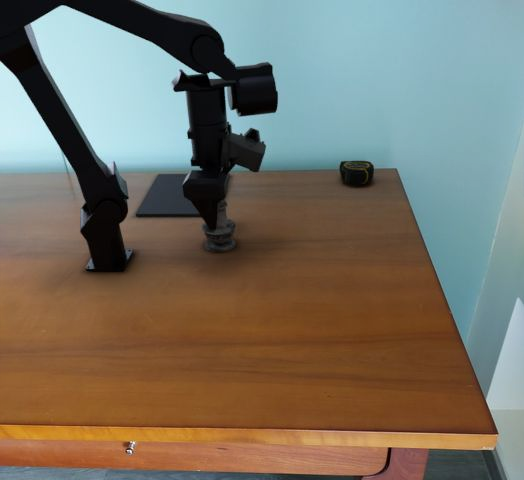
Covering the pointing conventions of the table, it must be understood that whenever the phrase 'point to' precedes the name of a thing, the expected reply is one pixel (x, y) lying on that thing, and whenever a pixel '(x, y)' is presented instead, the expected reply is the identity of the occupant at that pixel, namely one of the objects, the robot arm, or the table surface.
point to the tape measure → (356, 172)
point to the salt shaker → (220, 232)
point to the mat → (167, 198)
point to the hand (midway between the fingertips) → (217, 216)
